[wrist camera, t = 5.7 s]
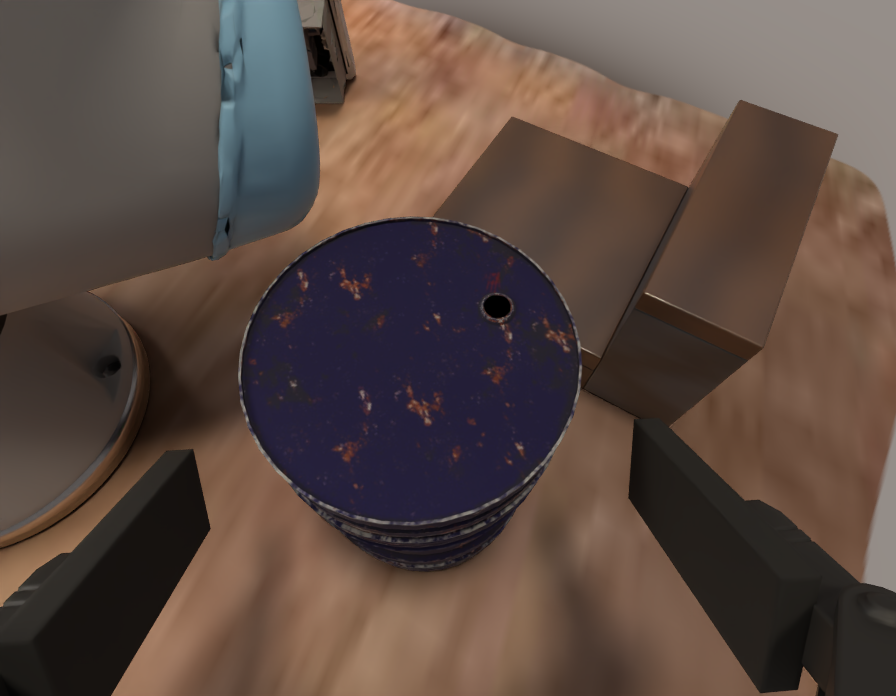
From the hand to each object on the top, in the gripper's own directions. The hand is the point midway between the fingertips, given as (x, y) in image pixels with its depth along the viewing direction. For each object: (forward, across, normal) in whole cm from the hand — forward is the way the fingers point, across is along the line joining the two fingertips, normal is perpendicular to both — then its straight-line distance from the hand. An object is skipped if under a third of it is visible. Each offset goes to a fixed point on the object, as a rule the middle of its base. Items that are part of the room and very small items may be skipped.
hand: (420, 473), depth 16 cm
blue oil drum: (+11, 0, -7) cm, 13 cm away
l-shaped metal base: (+20, +10, +2) cm, 22 cm away
